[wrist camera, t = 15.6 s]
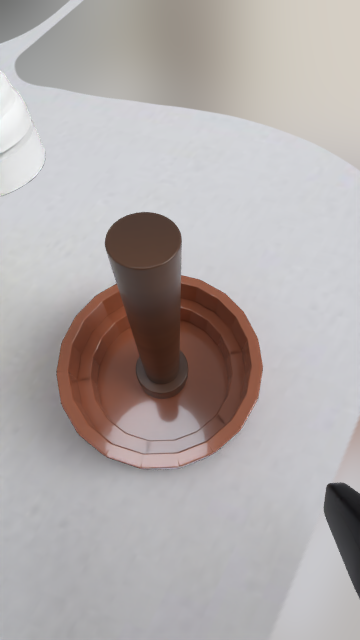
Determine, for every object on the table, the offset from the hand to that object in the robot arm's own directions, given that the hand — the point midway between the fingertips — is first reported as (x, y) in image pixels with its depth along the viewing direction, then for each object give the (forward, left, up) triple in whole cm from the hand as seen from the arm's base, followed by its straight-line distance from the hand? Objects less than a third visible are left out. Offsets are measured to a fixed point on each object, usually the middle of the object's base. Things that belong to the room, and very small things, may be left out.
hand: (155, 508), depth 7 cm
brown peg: (+6, -4, -12) cm, 14 cm away
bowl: (+6, -4, -12) cm, 14 cm away
